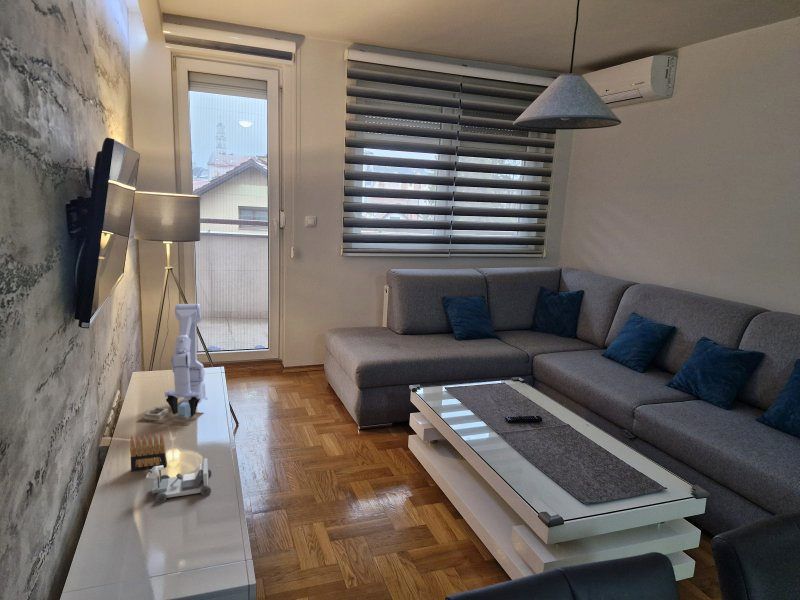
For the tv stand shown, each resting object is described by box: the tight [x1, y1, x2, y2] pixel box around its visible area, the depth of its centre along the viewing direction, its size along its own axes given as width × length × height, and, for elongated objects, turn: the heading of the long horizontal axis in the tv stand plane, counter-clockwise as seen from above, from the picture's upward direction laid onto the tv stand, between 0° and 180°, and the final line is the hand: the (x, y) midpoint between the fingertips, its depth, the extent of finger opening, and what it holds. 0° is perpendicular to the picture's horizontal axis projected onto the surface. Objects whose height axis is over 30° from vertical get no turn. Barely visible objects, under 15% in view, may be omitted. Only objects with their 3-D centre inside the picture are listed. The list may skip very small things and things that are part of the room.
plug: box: [178, 401, 191, 419], centre depth 208 cm, size 4×3×6 cm
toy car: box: [145, 457, 212, 503], centre depth 158 cm, size 18×10×12 cm
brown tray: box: [135, 406, 205, 427], centre depth 209 cm, size 13×22×3 cm, turn 83°
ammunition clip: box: [129, 432, 168, 472], centre depth 170 cm, size 11×2×12 cm, turn 108°
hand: (184, 414), depth 208 cm, fingers open, 7 cm apart
